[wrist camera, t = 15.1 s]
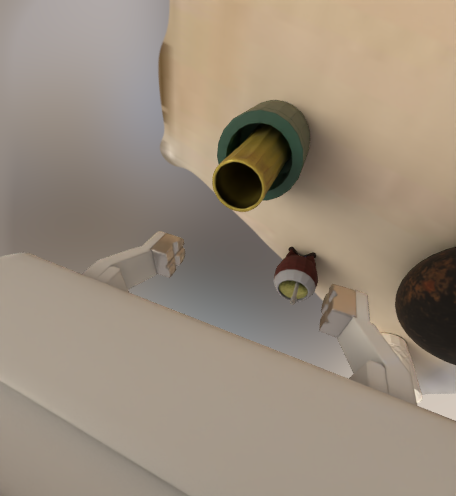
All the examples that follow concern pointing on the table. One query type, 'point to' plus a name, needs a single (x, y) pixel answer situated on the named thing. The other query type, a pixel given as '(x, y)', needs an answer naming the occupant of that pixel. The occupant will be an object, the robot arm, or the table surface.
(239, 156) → the vase
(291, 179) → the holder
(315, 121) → the table surface
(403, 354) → the white cup
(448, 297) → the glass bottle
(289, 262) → the mate gourd
